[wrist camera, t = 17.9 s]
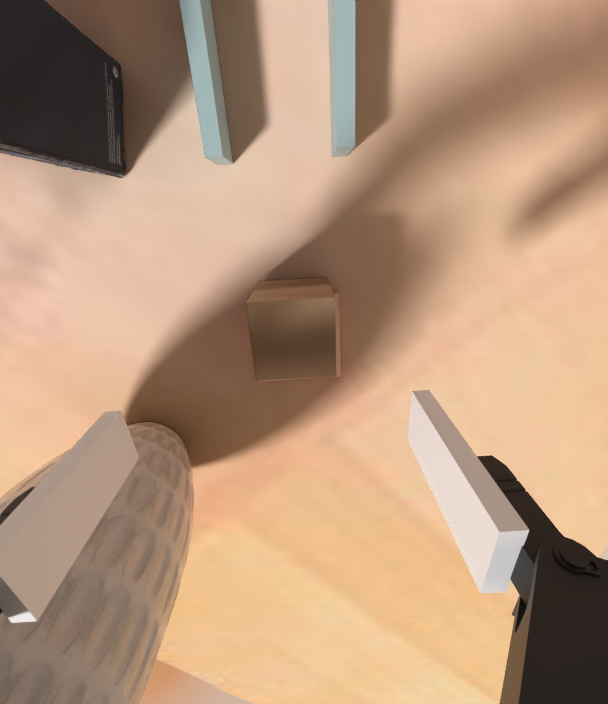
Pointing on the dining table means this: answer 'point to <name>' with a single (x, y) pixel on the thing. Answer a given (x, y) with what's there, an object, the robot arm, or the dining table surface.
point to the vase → (108, 588)
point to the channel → (211, 90)
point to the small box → (57, 92)
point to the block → (293, 328)
